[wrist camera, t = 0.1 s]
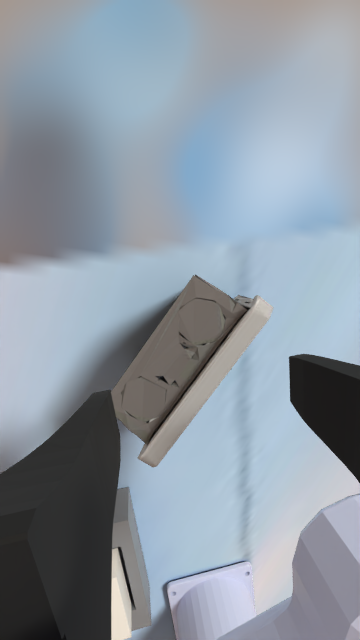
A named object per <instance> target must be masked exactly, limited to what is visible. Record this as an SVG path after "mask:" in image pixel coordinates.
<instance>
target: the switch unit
mask: <svg viewBox="0 0 360 640" xmlns="http://www.w3.org/2000/svg"><path fill="white" fill-rule="evenodd" d="M115 548H118V551H119V555H120V560H121V564H122V568H123V572H124V576H125V580H126V584H127V589H128V593H129V597H130V601H131V631H133V630H137V629H140V628H144V627H147V626H151V607H150V587H149V581H148V576H147V571H146V567H145V562H144V557H143V552H142V548H141V543H140V538H139V534H138V529H137V524H136V520H135V515H134V510H133V505H132V501H131V496H130V491H129V487H126V488H122V489H117V494H116V503H115V511H114V520H113V533H112V549H115Z"/></svg>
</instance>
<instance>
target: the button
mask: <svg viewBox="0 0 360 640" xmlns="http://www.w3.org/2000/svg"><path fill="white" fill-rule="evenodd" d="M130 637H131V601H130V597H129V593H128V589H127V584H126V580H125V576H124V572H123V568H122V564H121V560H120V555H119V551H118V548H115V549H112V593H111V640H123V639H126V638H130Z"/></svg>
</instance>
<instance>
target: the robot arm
mask: <svg viewBox="0 0 360 640" xmlns="http://www.w3.org/2000/svg"><path fill="white" fill-rule="evenodd" d="M289 368H290V401H291V403H292V404H293V406H294V407H295V409H296V410H297V412H298V413H299V415H300V416H301V418H302V419H303V420H304V422H305V423H306V424H307V425H308V426H309V427H310V428H311V429H312V430H313V431H314V433H315V434H316V435H317V436H318V437H319V438H320V439H321V440H322V441H323V442H324V443H325V444H326V445H327V446H328V447H329V449H330V450H331V451H332V452H333V453H334V454H335V455H336V456H337V457H338V458H339V459H340V460H341V461H342V462H343V463H344V464H345V466H346V467H347V468H348V469H349V470H350V471H351V473H352V474H353V475H354V476H355V477H356V479H357V480H358V481H359V483H360V366H359V365H354V364H350V363H346V362H342V361H338V360H333V359H329V358H325V357H320V356H315V355H309V354H300V355H295V356H290V357H289ZM119 469H120V433H119V429H118V424H117V419H116V414H115V409H114V405H113V400H112V395H111V390H107V391H101V392H96V393H93V394H92V395H91V396H90V397H89V398H88V399H87V401H86V402H85V403H84V404H83V405H82V406H81V407H80V408H79V409H78V410H77V411H76V412H75V414H74V415H73V416H72V417H71V418H70V419H69V420H68V421H67V422H66V423H65V424H64V425H63V426H62V427H60V428H59V429H58V430H57V431H56V432H55V433H54V434H53V435H52V436H51V437H50V438H49V439H48V440H46V441H45V442H44V443H43V444H42V445H40V446H39V447H38V448H37V449H35V450H34V451H33V452H32V453H30V454H29V455H28V456H26V457H25V458H24V459H22V460H21V461H19V462H18V463H16V464H15V465H13V466H12V467H10V468H9V469H7V470H6V471H4V472H3V473H1V474H0V640H111V593H112V533H113V520H114V511H115V503H116V494H117V486H118V477H119ZM292 568H293V593H292V596H291V597H289V598H287V599H286V600H284V601H282V602H280V603H279V604H277V605H275V606H273V607H272V608H270V609H268V610H266V611H265V612H263V613H261V614H259V615H258V616H257V613H256V610H255V601H254V589H253V577H252V567H251V564H250V563H249V562H242V563H238V564H235V565H231V566H227V567H224V568H220V569H216V570H213V571H209V572H205V573H201V574H198V575H194V576H190V577H187V578H183V579H179V580H175V581H172V582H169V583H168V584H167V593H168V598H169V603H170V609H171V614H172V619H173V624H174V629H175V635H176V640H360V494H356V495H352V496H348V497H346V498H344V499H342V500H340V501H338V502H336V503H334V504H332V505H329V506H327V507H325V508H323V509H321V510H320V511H319V512H318V513H317V515H316V516H315V517H314V518H313V519H312V520H311V521H310V522H309V523H308V524H307V526H306V527H305V528H304V529H303V530H302V531H301V534H300V537H299V541H298V544H297V548H296V551H295V555H294V558H293V562H292Z"/></svg>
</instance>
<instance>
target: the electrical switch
mask: <svg viewBox="0 0 360 640" xmlns="http://www.w3.org/2000/svg"><path fill="white" fill-rule="evenodd" d="M272 310H273V307H272V306H271V305H269V304H268V303H267V302H266V301H265V300H263V299H262V298H261V297H260V296H258V295H257V296H255V297H254V299H251V298H247V297H243V296H240V295H238V296H236V297H235V298H234V299H232V298H231V297H230V296H229V295H227V294H226V293H224V292H223V291H221V290H219V289H218V288H216V287H215V286H213V285H211V284H210V283H208V282H206V281H205V280H203V279H202V278H200V277H198V276H197V275H195V276H193V277H192V278H191V280H190V281H189V283H188V284H187V285H186V287H185V288H184V290H183V291H182V292H181V294H180V295H179V297H178V298H177V300H176V301H175V302H174V304H173V305H172V307H171V308H170V309H169V311H168V312H167V314H166V315H165V316H164V318H163V319H162V321H161V322H160V323H159V325H158V326H157V328H156V329H155V331H154V332H153V333H152V335H151V336H150V338H149V339H148V340H147V342H146V343H145V345H144V346H143V347H142V349H141V350H140V352H139V353H138V355H137V356H136V357H135V359H134V360H133V362H132V363H131V364H130V366H129V367H128V369H127V370H126V371H125V373H124V374H123V376H122V377H121V378H120V380H119V381H118V383H117V384H116V386H115V387H114V388H113V390H112V391H111V395H112V400H113V405H114V409H115V414H116V418H118V419H119V420H120V421H122V423H123V424H124V425H125V426H126V427H127V428H128V430H130V431H131V432H132V433H134V434H135V435H137V436H138V437H139V438H140V439H141V440H142V441H143V442H144V443H145V444H144V446H143V448H142V450H141V452H140V454H139V456H138V459H139V460H141V461H143V462H145V463H146V464H148V465H150V466H151V467H156V466H157V465H158V464H159V463H160V462H161V460H162V459H163V458H164V456H165V455H166V454H167V452H168V451H169V450H170V448H171V447H172V446H173V444H174V443H175V442H176V440H177V439H178V438H179V437H180V435H181V434H182V433H183V431H184V430H185V429H186V427H187V426H188V425H189V423H190V422H191V421H192V419H193V418H194V417H195V416H196V414H197V413H198V412H199V410H200V409H201V408H202V406H203V405H204V404H205V402H206V401H207V400H208V398H209V397H210V396H211V395H212V393H213V392H214V391H215V389H216V388H217V387H218V385H219V384H220V383H221V381H222V380H223V379H224V377H225V376H226V375H227V374H228V372H229V371H230V370H231V368H232V367H233V366H234V364H235V363H236V362H237V360H238V359H239V358H240V356H241V355H242V354H243V353H244V351H245V350H246V349H247V347H248V346H249V345H250V343H251V342H252V341H253V339H254V338H255V337H256V335H257V334H258V333H259V332H260V330H261V329H262V328H263V326H264V325H265V324H266V322H267V321H268V320H269V318H270V315H271V313H272ZM181 335H183V336H184V338H183V337H182V336H181Z"/></svg>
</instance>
